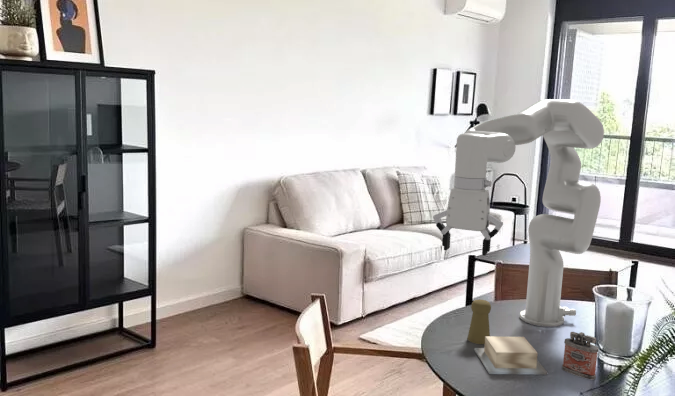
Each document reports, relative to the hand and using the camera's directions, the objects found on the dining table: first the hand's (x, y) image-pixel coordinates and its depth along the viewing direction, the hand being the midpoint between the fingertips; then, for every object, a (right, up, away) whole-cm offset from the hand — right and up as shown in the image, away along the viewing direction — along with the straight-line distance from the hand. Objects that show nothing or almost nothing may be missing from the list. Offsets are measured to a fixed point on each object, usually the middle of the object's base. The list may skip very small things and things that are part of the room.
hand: (465, 251), depth 158 cm
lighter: (+26, -29, -6) cm, 39 cm away
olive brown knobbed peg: (+6, -25, +13) cm, 29 cm away
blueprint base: (+11, -27, -1) cm, 29 cm away
